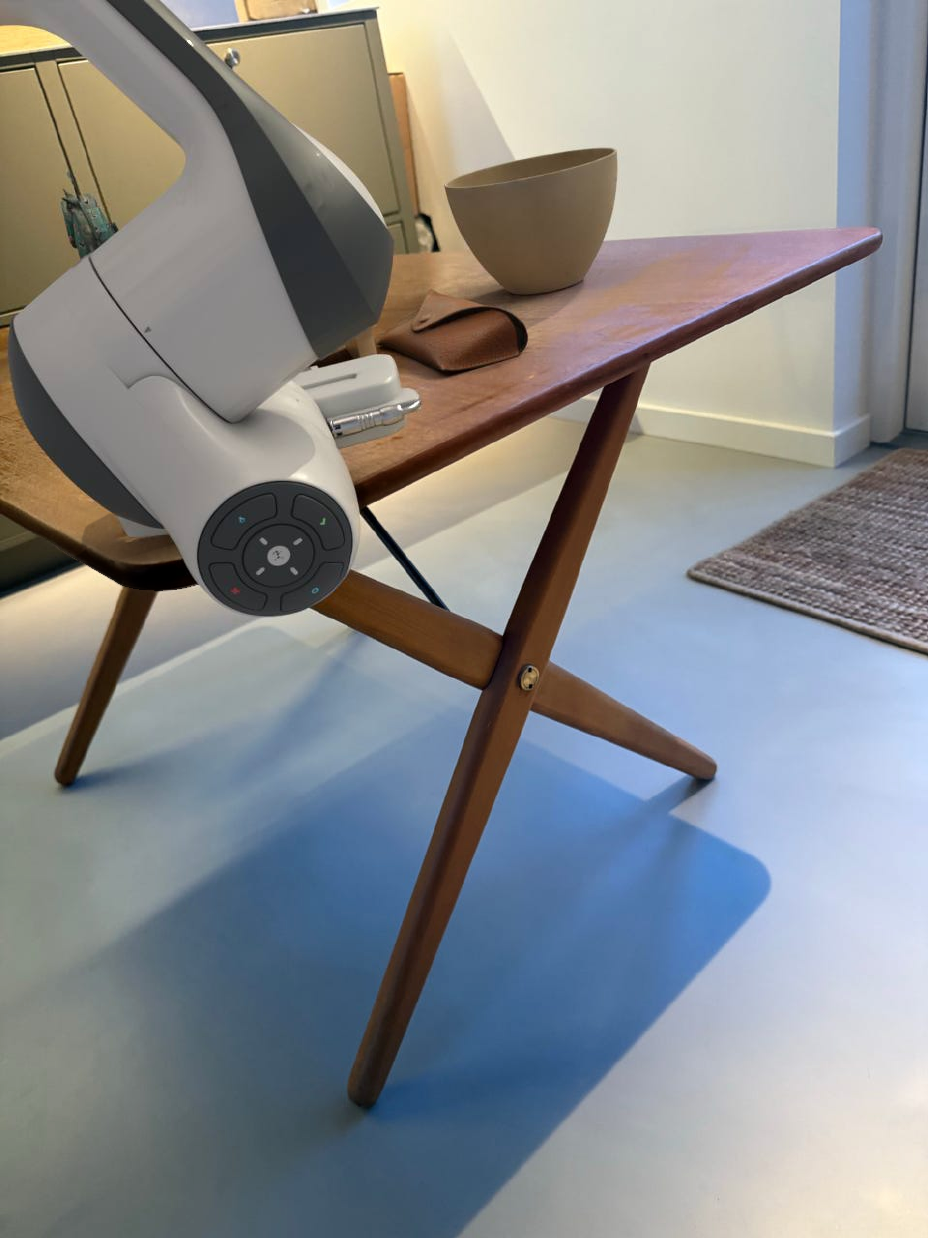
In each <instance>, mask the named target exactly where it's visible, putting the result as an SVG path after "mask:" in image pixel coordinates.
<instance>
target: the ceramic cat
mask: <svg viewBox="0 0 928 1238" xmlns="http://www.w3.org/2000/svg"><path fill="white" fill-rule="evenodd" d="M66 176H67V178H68V180H69V181H70V182H71V184H72V186H73V189H74V193H75V194H72V193H70V192H69V191H68V190H66V189H64V188H62V191H63V192H64V195H65V196H63V197H61V201H60V206H61V211H62V214H63V219H64V225H65V230H66V233H67V237H68V241H69V243H70V245H71V247H72V248H73V249H77V253H78V256H79V259H80V260H81V259H82V258H83V257H84V256H86V255H88V254H89V253H93V252H94V251H95V250H96V249H97V248H99V247H100V246H101V245H102V244H103V243H105V242H106V241H107V240H108V239H109V238H110V237H112V236H113V235H114V234H115V233H116V232H118V231H119V230H120V229H119V227H118V225H117V224H116V222H115V221H112V222H111V221H109V220H108V218H107V216H106V215H105V214H104V212H103V211H102V209H101V208H100V206H99V204H98V202H97V201H96V198H95V196H94V195H93V194H92V193H85V194H80V193H79V190H78V187H77V186H76V182H75V178H74V176H73V174H72V173H71V171H66Z"/></svg>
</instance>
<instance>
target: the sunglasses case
mask: <svg viewBox="0 0 928 1238" xmlns="http://www.w3.org/2000/svg"><path fill="white" fill-rule="evenodd" d="M528 342H529V334H528V330H527V327H526V325H525V324H524V322H523V321H522V320H521V318H520V317H518V316H517V315H516V314H515V313H514V312H511V311H510V310H507V308H506V309H505V308H502V307H500V306H499V307H498V306H495V305H484V304H481V303H479V302H476V301H475V302H474V301H471V300H468V299H465V298H464V299H463V298H461V297H455V296H451V295H446V294H442V293H440V292H437V291H436V290H435V289H429V291H428V292H427V294H426V296H425V298H424V299H423V301H422V302H421V303H420V304H419V305H418V306H416V307H415V308H414V309H413V310H412V311H410V312H409V313H408V314H407V315H406V316H404V318H402V319H401V320H400V321H399V322H398V323H396V324H395V325H394V326H393V327H392V328H391V329H389V331H387V332H386V333H384V334H383V335H382V337H381V338H380V339H379V340H377V342H376V346H380V347H384V348H389V349H391V350H393V351H396V352H398V353H400V354H403V355H405V356H407V357H409V358H412V359H414V360H416V361H417V362H419V363H422V364H423V365H425V366H427V367H430V368H433V369H435V370H439V371H442V372H456V371H457V372H458V371H462V370H470V369H477V368H482V367H486V366H489V365H492V364H496V363H499V362H502V361H506V360H510V359H512V358H516V357H519V356H520V355H521V354H522V353H523V352H524V350H525V349H526V347H527V345H528Z"/></svg>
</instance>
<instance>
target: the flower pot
mask: <svg viewBox="0 0 928 1238" xmlns="http://www.w3.org/2000/svg"><path fill="white" fill-rule="evenodd" d="M617 185H618V150H617V149H616V148H615V147H614V148H613V147H590V148H579V149H571V150H566V151H559V152H553V153H548V154H541V155H535V156H531V157H526V158H520V159H516V160H512V161H507V162H504V163H503V162H502V163H499V164H495V165H490V166H487V167H483V168H480V169H477V170H473V171H471V172H467V173H464V174H461V175H459V176H455V177H453V178H451V179H449V180H447V181H446V182H445V183H444V185H443V187H444V190H445V195H446V199H447V202H448V205H449V208H450V211H451V214H452V216H453V219H454V222H455V223H456V224H455V225H456V226H457V228H458V231H459V232H460V235H461V237H462V238H463V240H464V242H465V243H466V246H467V247H468V249H469V250H470V252H471V253H472V255H473V256H474V257H475V259H476V260H477V262H479V264H480V265H481V267H482V268H483V269H484V270H485V271H486V272H487V273H488V275H490V276H491V277H492V278H493V280H495V281H496V282H497V284H499V285H500V286H501V287H502V288H503V289H505V290H506V291H507V292H509V293H511V294H514V295H520V296H521V295H524V296H525V295H528V296H529V295H538V294H546V293H550V292H554V291H558V290H559V291H560V290H563V289H567V288H569V287H571V286H574V285H577V284H578V283H580V282H581V281H582V280H583V279H585V277H586V275H587V274H588V272H589V271H590V269H591V267H592V265H593V263H594V262H595V260H596V258H597V255H598V253H599V252H600V250H601V247H602V246H603V243H604V240H605V238H606V235H607V233H608V230H609V227H610V223H611V219H612V215H613V210H614V206H615V200H616V193H617Z"/></svg>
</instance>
